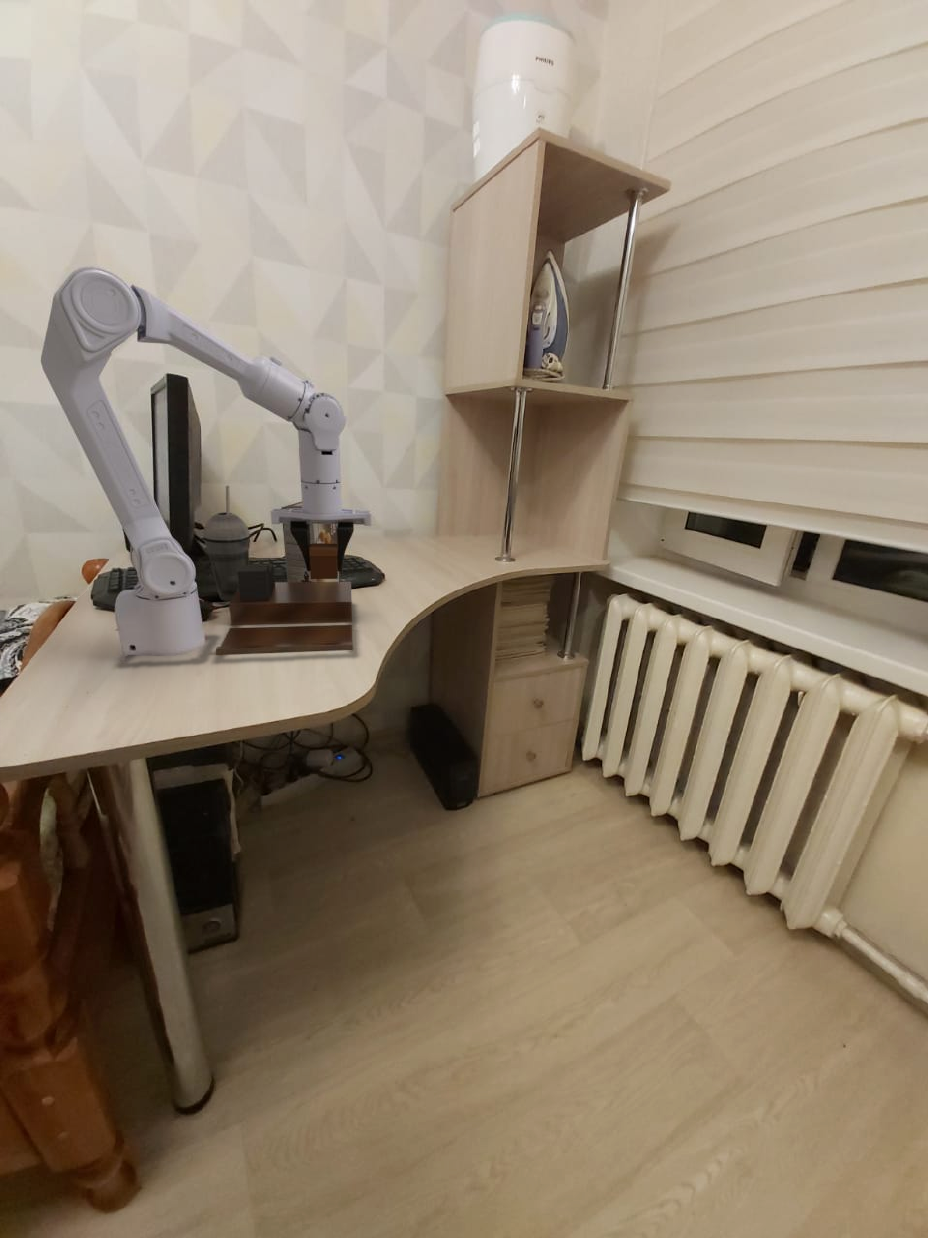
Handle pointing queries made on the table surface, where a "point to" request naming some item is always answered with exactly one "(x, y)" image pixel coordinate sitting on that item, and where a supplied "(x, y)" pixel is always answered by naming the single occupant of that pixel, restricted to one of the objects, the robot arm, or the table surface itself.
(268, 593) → the dark grey block
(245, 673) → the table surface
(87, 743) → the table surface
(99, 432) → the robot arm
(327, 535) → the coffee box
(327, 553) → the brown block
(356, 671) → the table surface
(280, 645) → the shoe stand
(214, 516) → the beverage cup
